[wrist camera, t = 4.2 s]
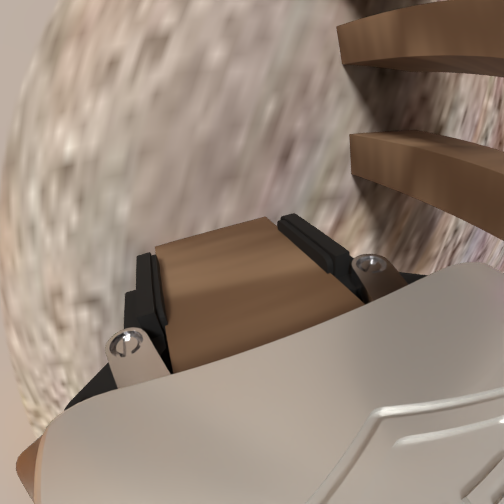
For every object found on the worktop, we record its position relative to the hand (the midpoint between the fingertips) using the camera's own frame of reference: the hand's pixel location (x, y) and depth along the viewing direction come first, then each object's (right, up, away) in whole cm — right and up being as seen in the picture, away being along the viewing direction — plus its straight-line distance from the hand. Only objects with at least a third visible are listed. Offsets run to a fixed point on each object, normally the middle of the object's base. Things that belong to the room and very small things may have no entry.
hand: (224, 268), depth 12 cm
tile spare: (-1, +1, +1) cm, 2 cm away
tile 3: (+7, +11, 0) cm, 13 cm away
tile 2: (+8, +6, +2) cm, 10 cm away
